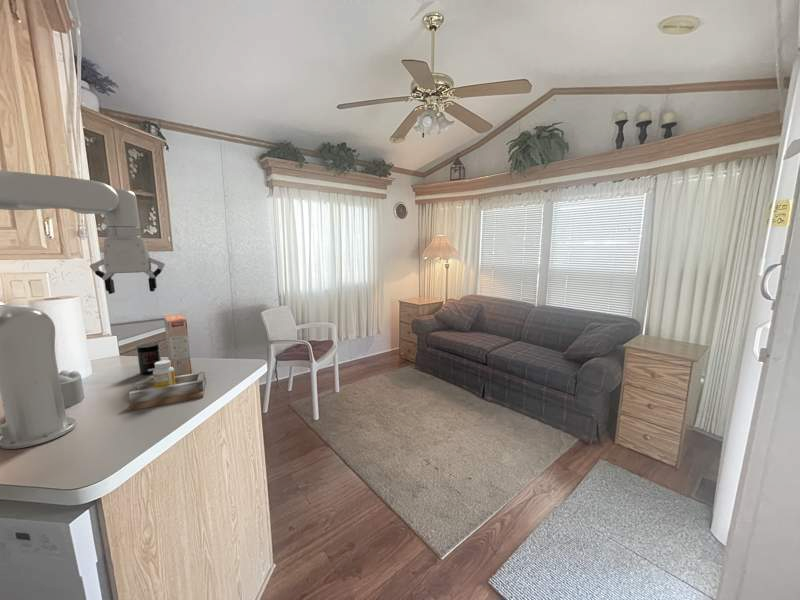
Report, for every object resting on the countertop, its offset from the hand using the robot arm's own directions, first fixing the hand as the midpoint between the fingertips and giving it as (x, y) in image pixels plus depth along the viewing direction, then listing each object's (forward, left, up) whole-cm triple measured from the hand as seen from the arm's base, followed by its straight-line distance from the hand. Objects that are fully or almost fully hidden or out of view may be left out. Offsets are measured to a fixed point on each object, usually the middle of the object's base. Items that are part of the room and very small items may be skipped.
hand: (132, 292), depth 97 cm
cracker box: (+7, +18, -32) cm, 38 cm away
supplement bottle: (+6, -4, -31) cm, 32 cm away
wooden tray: (+7, -4, -32) cm, 33 cm away
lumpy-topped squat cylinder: (-22, +7, -33) cm, 40 cm away
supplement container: (-3, +24, -32) cm, 41 cm away
